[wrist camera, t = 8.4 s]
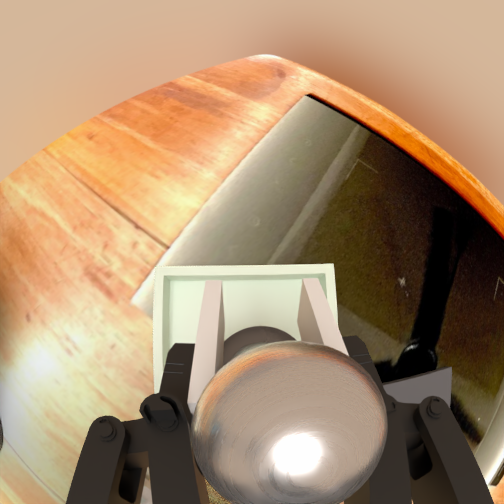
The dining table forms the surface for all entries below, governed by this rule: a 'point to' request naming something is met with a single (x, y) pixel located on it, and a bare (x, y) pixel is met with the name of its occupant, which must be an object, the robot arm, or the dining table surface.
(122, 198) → the dining table surface
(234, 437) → the domed glass cylinder
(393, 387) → the stud plate
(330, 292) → the tray
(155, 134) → the dining table surface
